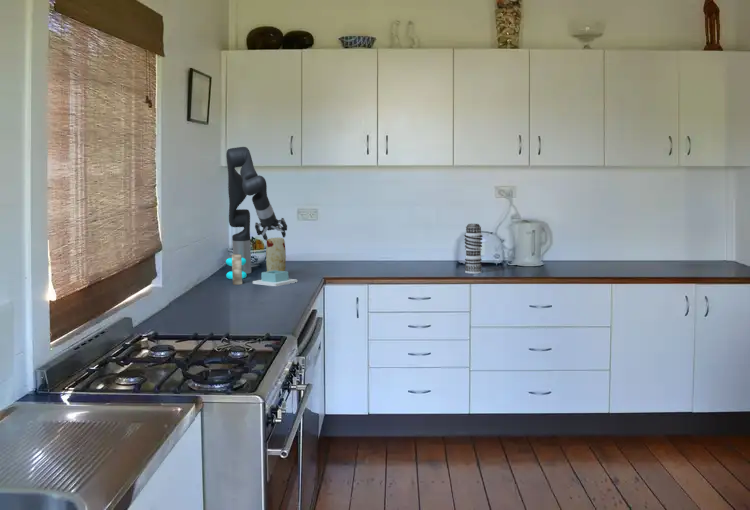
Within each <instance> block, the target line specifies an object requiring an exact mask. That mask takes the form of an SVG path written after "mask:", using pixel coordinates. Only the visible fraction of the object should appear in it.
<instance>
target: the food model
mask: <svg viewBox="0 0 750 510" xmlns="http://www.w3.org/2000/svg"><path fill="white" fill-rule="evenodd" d="M265 246H266V248H265V257H266V258H265V259H266V260H265V263H266V272H268V271H273V270H276V271H286V266H287V265H286V263H287V260H286V258H287V255H286V253H287V252H286V241H285V237H284V238H283V237H279V236H277V237H270V238H268V239H267V241H266V245H265Z"/></svg>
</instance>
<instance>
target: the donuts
mask: <svg viewBox="0 0 750 510" xmlns="http://www.w3.org/2000/svg"><path fill="white" fill-rule="evenodd" d="M241 260H242V265H244V264H245V263H246V259H245V258H241ZM225 264H226V265H227V266H230V267H232V257H228V258H226V260H225ZM225 276H226V279H229V280H233V275H232V270H231V271H228V272H227V273H226V274H225ZM245 278H247V274H246V273H245V272H244V271H242V280H243V279H245Z"/></svg>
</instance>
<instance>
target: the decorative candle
mask: <svg viewBox="0 0 750 510" xmlns="http://www.w3.org/2000/svg"><path fill="white" fill-rule="evenodd" d="M465 228H466V229H465V234H464V244H465V245H464V247H465V249H464V250H465V259H464V260H465V261H464V263H465V265H464V270H465V271H464V272H465V273H466V274H481V273H482V264H483V263H482V255H481V254H482V247H483V245H482V244H483V242H482V240H483V235H482V226H481V225H480V224H479V223H468V224H467V225H466V226H465Z"/></svg>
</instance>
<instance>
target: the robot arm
mask: <svg viewBox="0 0 750 510" xmlns="http://www.w3.org/2000/svg"><path fill="white" fill-rule="evenodd" d="M225 157H226V166H227V180H228V181H227V182H228V183H227V185H228V186H227V188H228V189H227V190H228V223H229V226H230V227H231V228H243V229H242V230H241V231H240V232H237V233H235V234H233V235H232V236H231V237H232V238H231V241H232V255H233V254H241V258H245V259H246V263H245V264H244V265H242V271H244V272H245V273H246V274H251V273H252V258H251V257H252V252H251V251H252V250H251V248H252V246H251V213H250V210H249V209H244V208H243V209H242V208H241V209H238V208H239V206H241V204H242V203H243V202H244V201H245V200H246V198H247V196H252V198H251V201H252V204H253V206H254V209H255V212H256V216H257V218H258V220H259V222H255V224H254V228H255V231H256V234H257V236H260V235H261V236H262V238H263V240H265V242H267V240H268V239H269V238H268V236H267V231H272V230H273V231H275V230H276V231H277V232H278V231H279V232H280V233H281V235H282V238H284V239H285V238H286V236H287V235H286V231H288V225H287V223H286V221H285V218H284V217H281V219H278V218H277V217H276V213H275V212H274V208H273V207H272V204H271V202H270V199H269V197H268V191H267V188H268V186H267V180H266V179H265V177H264V176H262V175H258V173H257V171H256V169H255V165H254V161H253V158H252V154H251V152H250V150H249V148H248V147H246V146H237V147H232V148H228V149H227V150H226V156H225ZM236 168H240V170H239V173H238V171H237V169H236ZM261 227H262V230H261V229H260V228H261Z"/></svg>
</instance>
